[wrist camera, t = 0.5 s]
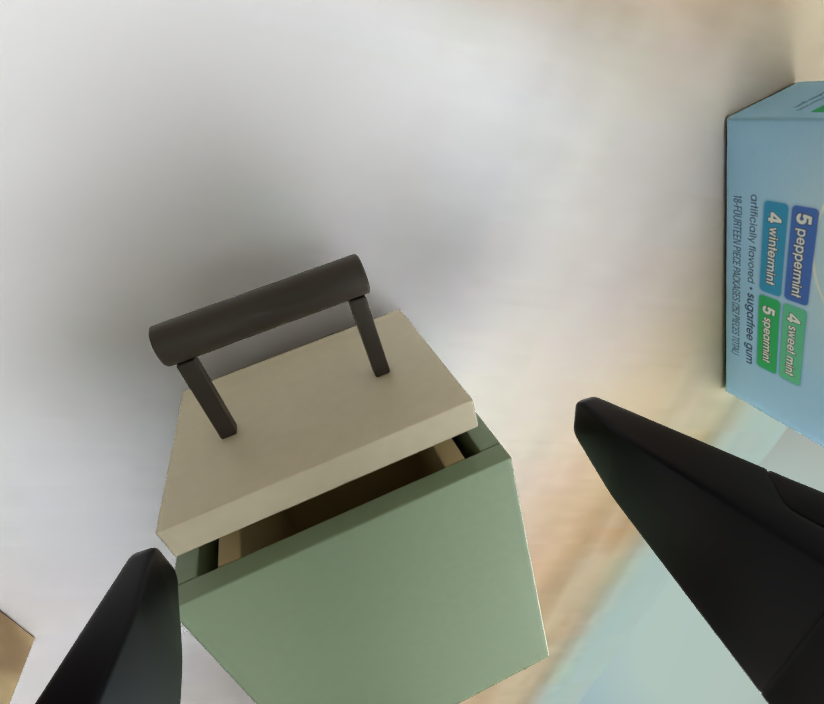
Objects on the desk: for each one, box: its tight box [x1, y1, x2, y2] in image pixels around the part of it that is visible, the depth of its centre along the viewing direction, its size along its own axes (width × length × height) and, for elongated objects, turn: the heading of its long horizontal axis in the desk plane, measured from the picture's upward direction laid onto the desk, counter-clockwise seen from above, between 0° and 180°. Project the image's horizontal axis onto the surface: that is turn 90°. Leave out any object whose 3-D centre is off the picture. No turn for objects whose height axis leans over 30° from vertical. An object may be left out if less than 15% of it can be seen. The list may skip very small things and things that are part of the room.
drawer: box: [149, 254, 478, 568], centre depth 20 cm, size 17×10×8 cm, turn 15°
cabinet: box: [175, 412, 549, 704], centre depth 23 cm, size 14×12×10 cm
